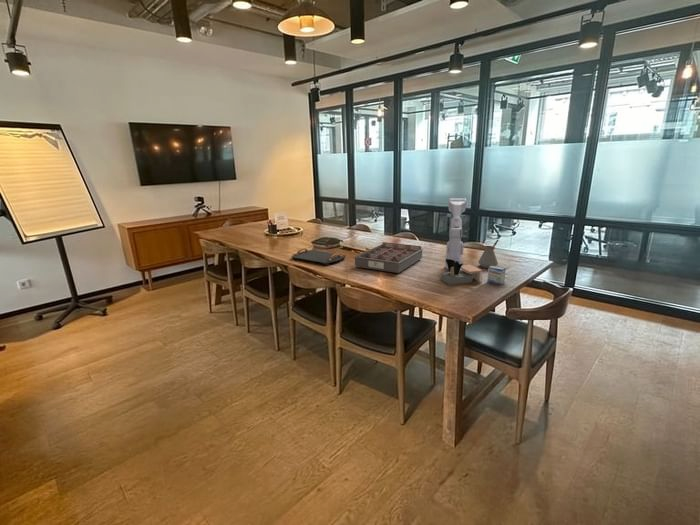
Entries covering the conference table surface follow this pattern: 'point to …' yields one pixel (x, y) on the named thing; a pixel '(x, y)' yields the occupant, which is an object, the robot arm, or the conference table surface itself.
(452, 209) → the robot arm
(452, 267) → the peg
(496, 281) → the medicine box
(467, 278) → the socket block
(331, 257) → the serving board
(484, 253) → the coffee pot
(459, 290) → the conference table surface
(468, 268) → the peach slab
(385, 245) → the organizer tray
